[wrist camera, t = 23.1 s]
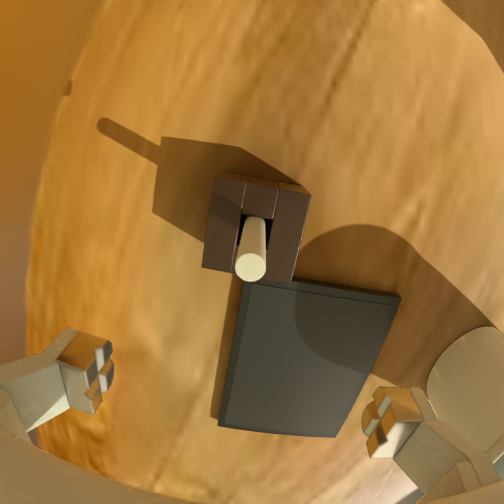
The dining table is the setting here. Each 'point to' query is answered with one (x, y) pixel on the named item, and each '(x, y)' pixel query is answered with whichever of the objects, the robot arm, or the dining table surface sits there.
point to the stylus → (252, 250)
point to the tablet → (302, 355)
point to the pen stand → (260, 205)
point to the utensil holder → (473, 390)
